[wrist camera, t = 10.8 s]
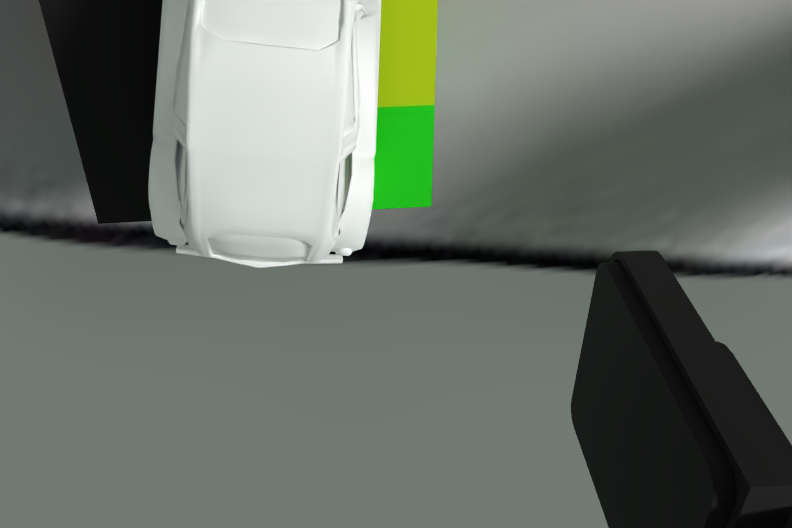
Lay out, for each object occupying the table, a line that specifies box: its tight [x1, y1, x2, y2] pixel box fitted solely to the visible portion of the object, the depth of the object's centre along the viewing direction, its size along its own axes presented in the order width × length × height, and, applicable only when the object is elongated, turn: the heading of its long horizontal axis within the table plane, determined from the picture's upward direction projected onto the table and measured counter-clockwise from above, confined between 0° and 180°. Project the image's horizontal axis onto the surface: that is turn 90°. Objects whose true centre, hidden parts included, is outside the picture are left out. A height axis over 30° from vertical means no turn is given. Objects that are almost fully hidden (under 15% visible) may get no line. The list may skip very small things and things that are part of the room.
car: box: [148, 0, 381, 268], centre depth 18 cm, size 12×6×5 cm, turn 172°
